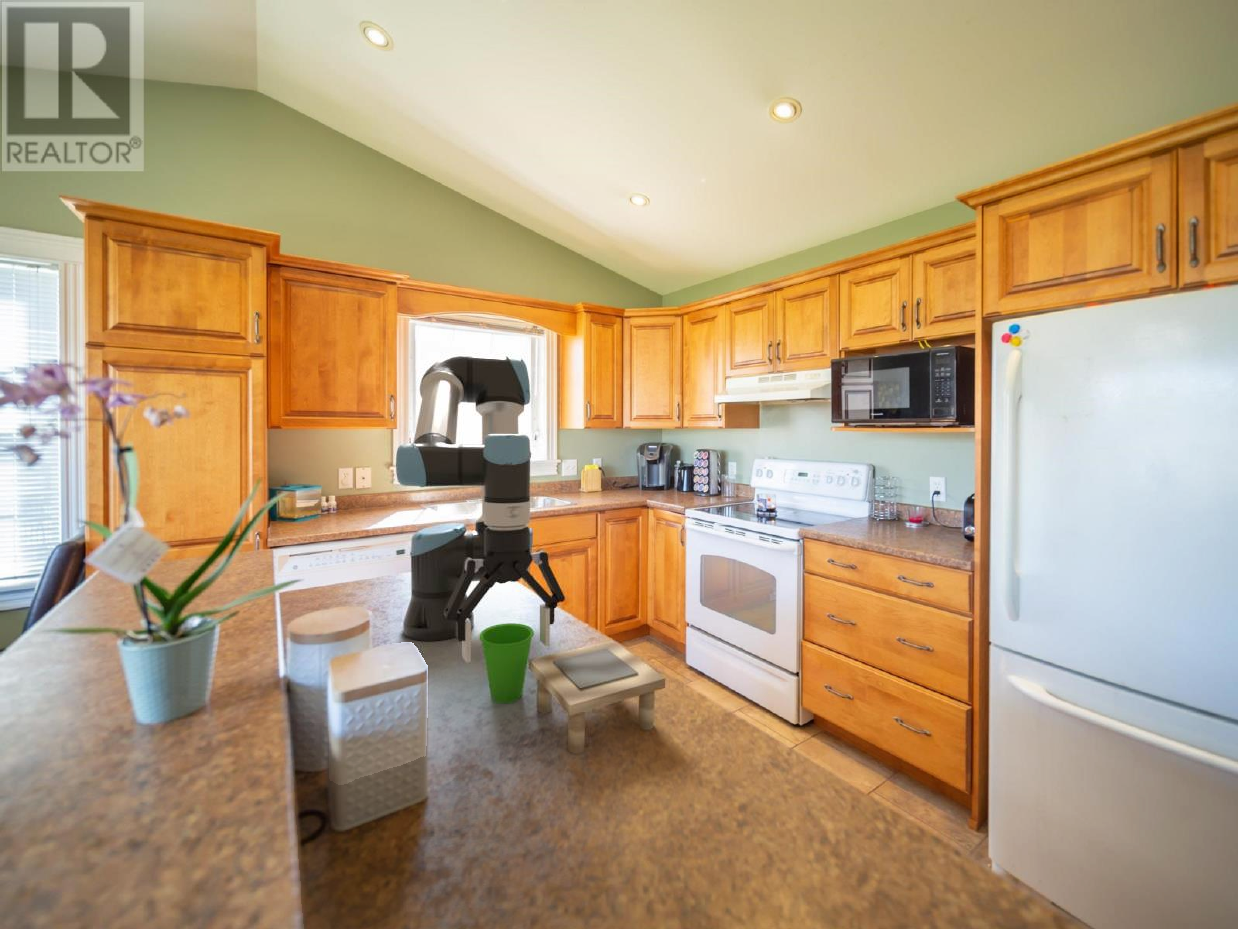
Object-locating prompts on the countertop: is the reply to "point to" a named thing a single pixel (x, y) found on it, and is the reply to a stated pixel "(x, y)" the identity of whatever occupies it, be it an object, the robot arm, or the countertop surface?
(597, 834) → the countertop surface
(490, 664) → the cup
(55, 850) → the countertop surface
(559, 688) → the stool
